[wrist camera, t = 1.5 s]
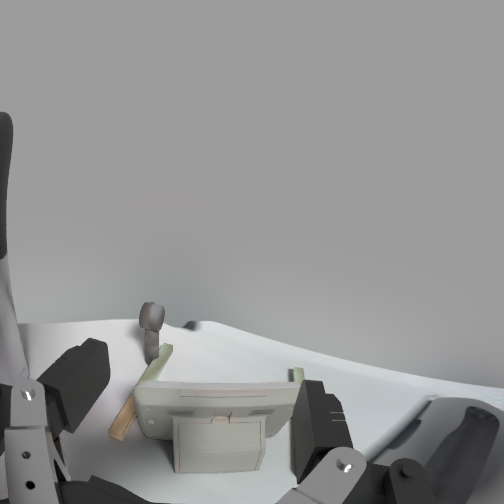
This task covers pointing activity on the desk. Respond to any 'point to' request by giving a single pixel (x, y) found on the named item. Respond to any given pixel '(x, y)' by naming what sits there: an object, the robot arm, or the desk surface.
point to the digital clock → (214, 421)
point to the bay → (156, 364)
